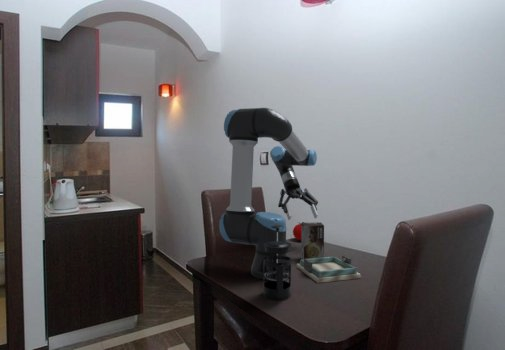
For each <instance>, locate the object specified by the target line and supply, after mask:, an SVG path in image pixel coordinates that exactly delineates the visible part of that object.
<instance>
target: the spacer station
mask: <svg viewBox="0 0 505 350" xmlns="http://www.w3.org/2000/svg"><path fill="white" fill-rule="evenodd" d="M296 268H297V269H298V270H299V271H300V272H302V273H303V274H305V276H307V277H309V278H310V279H311V280H313V281H315V282H316V284H321V283H330V282H337V281H346V280H347V281H348V280H356V279H357V280H358V279H361V278H362V275H361V273H359V272H358V268H357V267H356V266H353V265H352V258H351V257H348V256H346V255H343V254H342V255H341V259H340V258H339V257H337V256H324V258H313V259H302V258H301V259H300V261H299V263H296Z"/></svg>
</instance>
